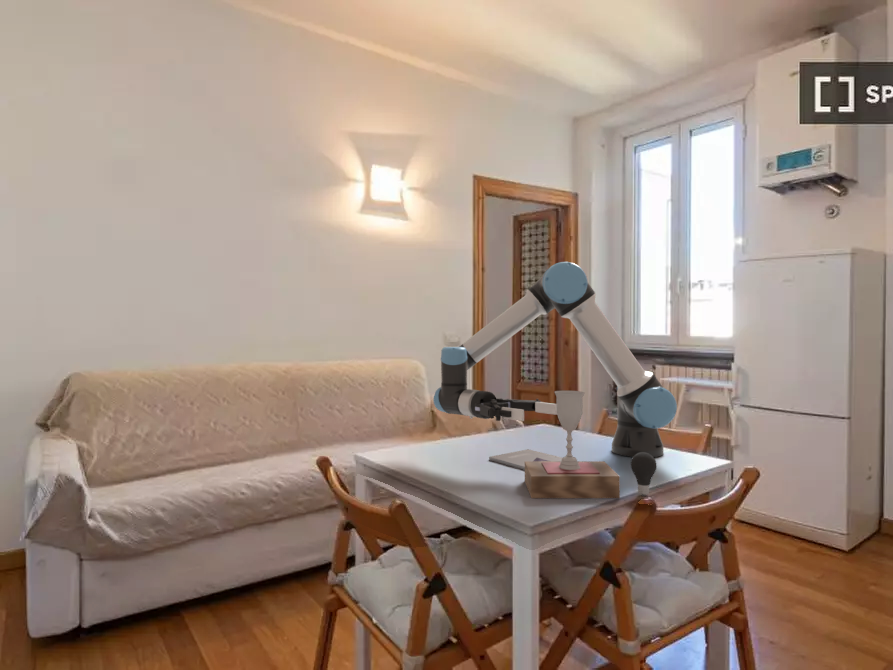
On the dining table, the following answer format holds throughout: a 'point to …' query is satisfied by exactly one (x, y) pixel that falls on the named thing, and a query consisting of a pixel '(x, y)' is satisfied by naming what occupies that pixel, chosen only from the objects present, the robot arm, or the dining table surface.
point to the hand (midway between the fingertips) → (540, 412)
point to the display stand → (571, 480)
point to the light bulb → (643, 471)
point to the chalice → (569, 421)
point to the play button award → (523, 458)
